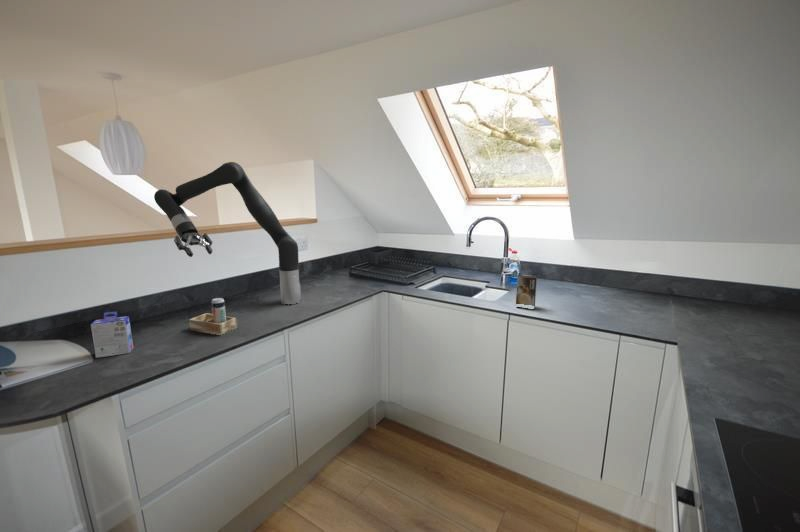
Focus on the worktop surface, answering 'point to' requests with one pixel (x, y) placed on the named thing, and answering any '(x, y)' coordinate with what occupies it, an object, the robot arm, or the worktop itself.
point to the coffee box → (526, 289)
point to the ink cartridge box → (112, 335)
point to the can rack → (212, 324)
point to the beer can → (218, 310)
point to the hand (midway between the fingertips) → (201, 254)
